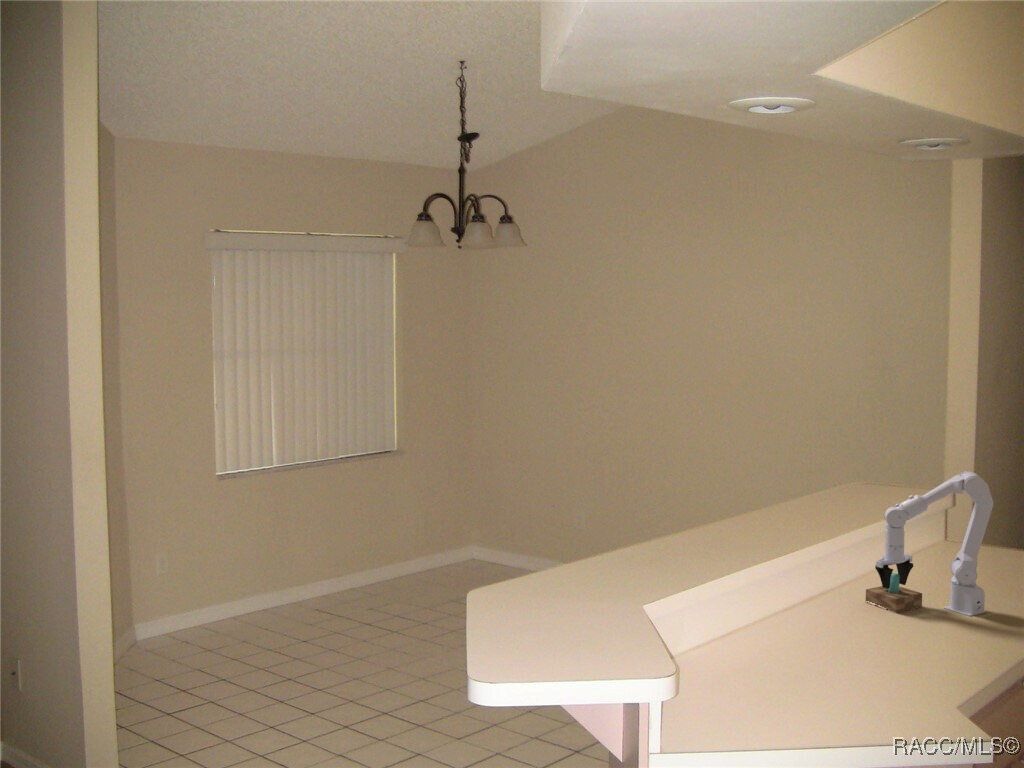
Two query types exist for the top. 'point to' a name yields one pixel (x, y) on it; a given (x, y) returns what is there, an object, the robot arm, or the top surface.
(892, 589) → the peg
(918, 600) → the socket block
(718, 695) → the top surface
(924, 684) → the top surface
